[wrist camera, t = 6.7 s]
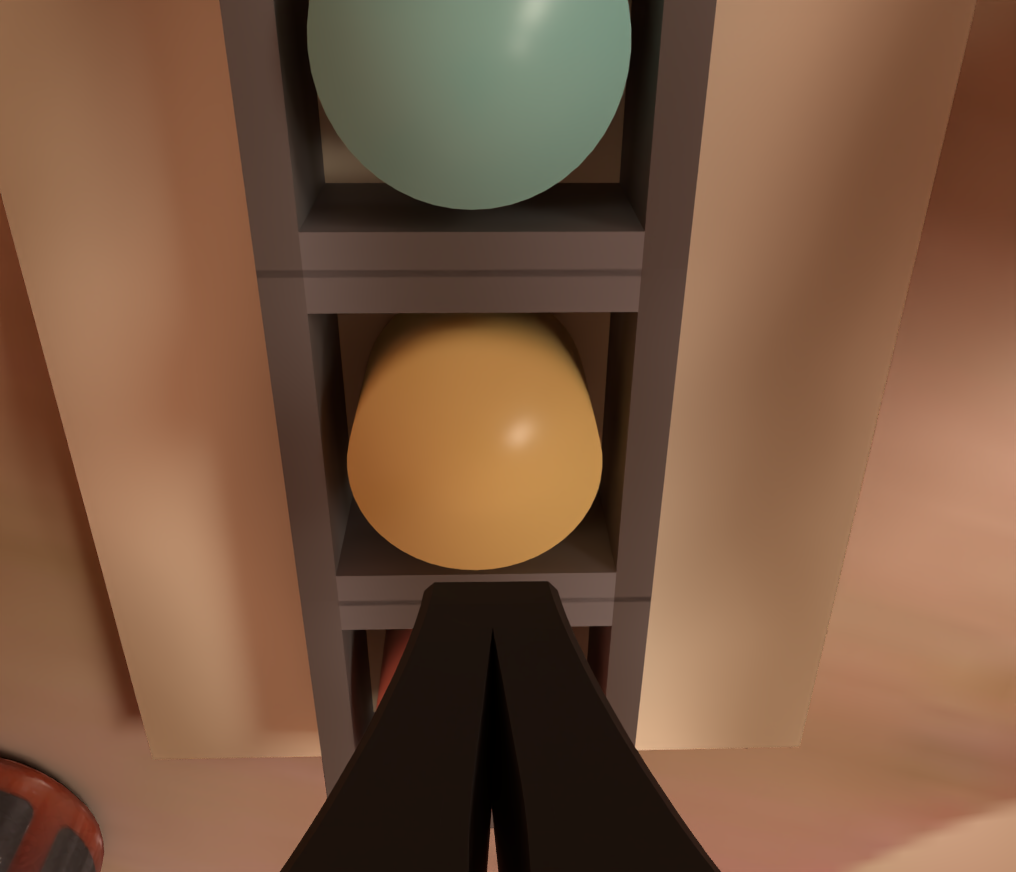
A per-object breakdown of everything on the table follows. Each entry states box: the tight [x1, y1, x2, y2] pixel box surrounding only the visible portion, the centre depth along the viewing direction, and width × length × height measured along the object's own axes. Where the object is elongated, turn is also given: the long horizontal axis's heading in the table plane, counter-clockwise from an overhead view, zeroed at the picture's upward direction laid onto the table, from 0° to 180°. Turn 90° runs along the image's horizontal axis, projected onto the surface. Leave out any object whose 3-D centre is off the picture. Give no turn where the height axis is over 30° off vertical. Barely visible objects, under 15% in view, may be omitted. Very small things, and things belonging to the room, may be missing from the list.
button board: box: [0, 0, 977, 828], centre depth 14 cm, size 14×20×4 cm
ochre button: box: [347, 312, 602, 570], centre depth 14 cm, size 4×4×2 cm
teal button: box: [307, 0, 631, 210], centre depth 11 cm, size 4×4×2 cm
